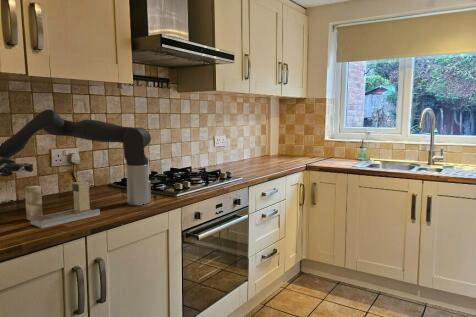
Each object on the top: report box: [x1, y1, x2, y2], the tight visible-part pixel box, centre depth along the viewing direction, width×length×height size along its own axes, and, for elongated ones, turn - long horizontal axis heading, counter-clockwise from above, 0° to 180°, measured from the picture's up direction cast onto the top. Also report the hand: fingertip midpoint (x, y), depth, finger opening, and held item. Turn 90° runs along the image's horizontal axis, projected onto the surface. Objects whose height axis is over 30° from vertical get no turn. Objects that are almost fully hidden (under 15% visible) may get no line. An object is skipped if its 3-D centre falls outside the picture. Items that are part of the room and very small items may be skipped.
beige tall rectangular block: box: [24, 185, 44, 222], centre depth 137 cm, size 4×4×12 cm
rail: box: [30, 180, 101, 229], centre depth 136 cm, size 22×8×13 cm, turn 143°
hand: (19, 170), depth 142 cm, fingers open, 8 cm apart
